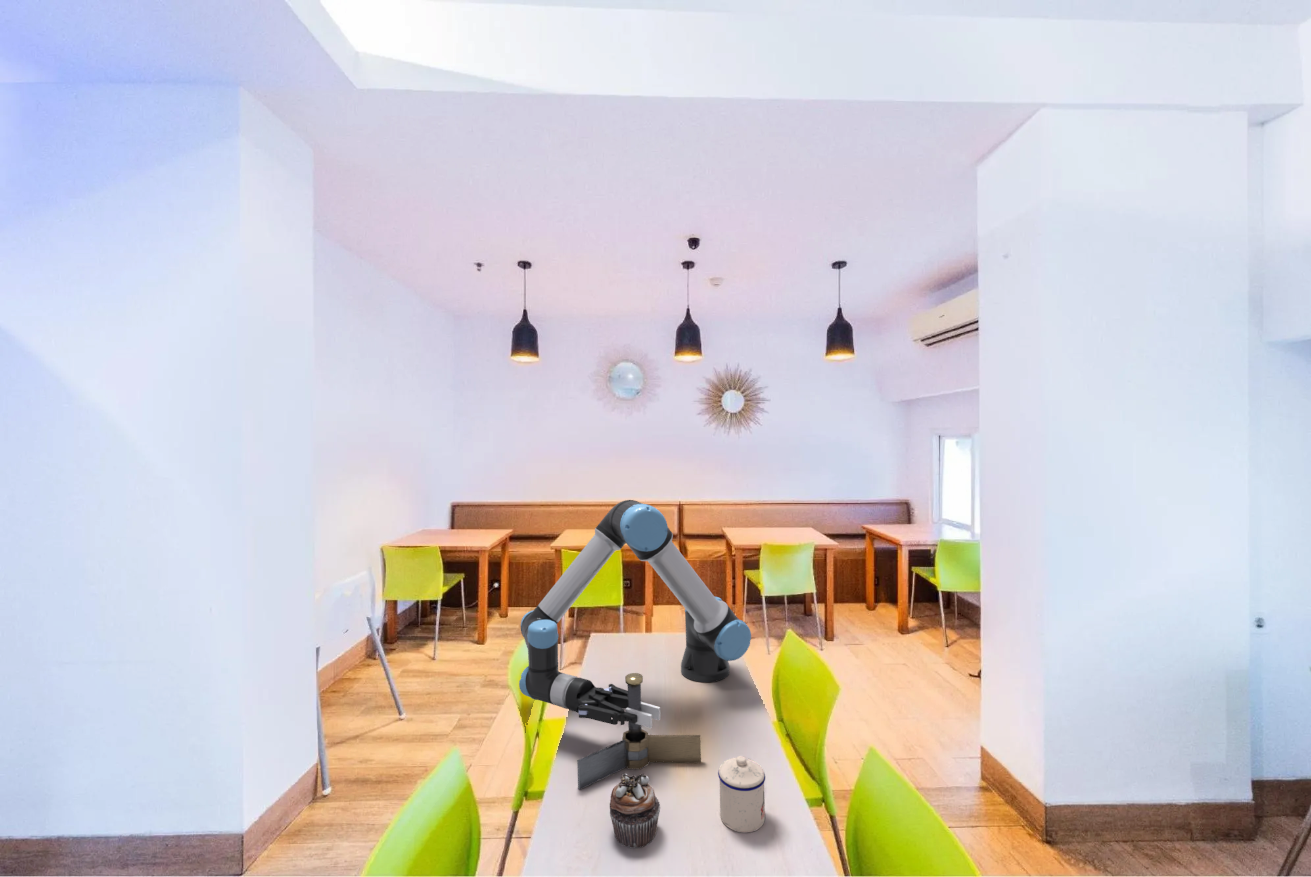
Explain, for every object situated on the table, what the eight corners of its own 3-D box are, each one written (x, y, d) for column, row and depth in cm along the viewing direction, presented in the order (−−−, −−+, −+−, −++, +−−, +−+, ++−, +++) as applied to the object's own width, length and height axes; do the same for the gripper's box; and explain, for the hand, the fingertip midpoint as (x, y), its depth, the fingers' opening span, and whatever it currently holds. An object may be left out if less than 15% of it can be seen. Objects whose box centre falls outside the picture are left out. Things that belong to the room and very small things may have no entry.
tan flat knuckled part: (700, 754, 125) (699, 729, 125) (701, 769, 119) (700, 743, 119) (624, 753, 126) (624, 728, 126) (622, 769, 120) (621, 743, 120)
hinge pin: (644, 749, 125) (643, 673, 125) (643, 760, 121) (642, 681, 121) (627, 749, 125) (626, 673, 125) (626, 760, 121) (624, 681, 121)
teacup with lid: (773, 830, 101) (772, 769, 101) (727, 838, 99) (726, 776, 99) (750, 789, 113) (749, 734, 113) (709, 795, 111) (708, 739, 111)
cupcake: (609, 853, 96) (607, 798, 96) (610, 815, 106) (609, 765, 106) (662, 850, 97) (661, 795, 97) (659, 812, 107) (658, 762, 106)
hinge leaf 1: (638, 750, 127) (638, 726, 127) (653, 762, 122) (653, 736, 122) (572, 781, 116) (571, 754, 116) (585, 795, 112) (585, 767, 112)
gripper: (593, 694, 139) (672, 717, 127) (551, 724, 125) (636, 753, 113) (593, 665, 139) (672, 686, 127) (551, 692, 125) (635, 717, 113)
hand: (655, 717), depth 120 cm, fingers closed on hinge pin, 3 cm apart
